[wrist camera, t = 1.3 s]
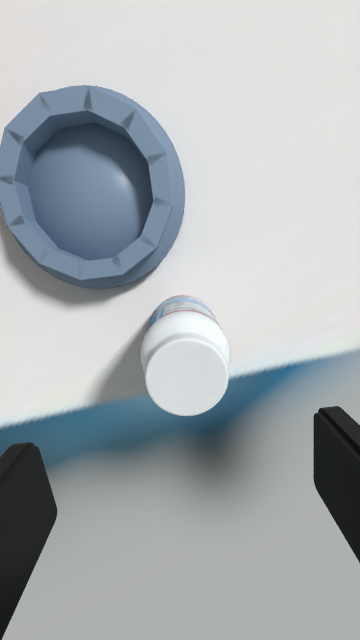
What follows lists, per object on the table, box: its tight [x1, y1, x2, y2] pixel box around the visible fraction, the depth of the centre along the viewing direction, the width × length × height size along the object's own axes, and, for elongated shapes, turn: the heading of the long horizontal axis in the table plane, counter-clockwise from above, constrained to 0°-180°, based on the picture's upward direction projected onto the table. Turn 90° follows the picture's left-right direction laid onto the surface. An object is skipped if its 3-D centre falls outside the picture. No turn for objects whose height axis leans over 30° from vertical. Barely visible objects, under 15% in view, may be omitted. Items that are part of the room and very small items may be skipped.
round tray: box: [0, 85, 185, 289], centre depth 21 cm, size 15×15×3 cm
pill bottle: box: [140, 295, 230, 416], centre depth 20 cm, size 6×6×11 cm
